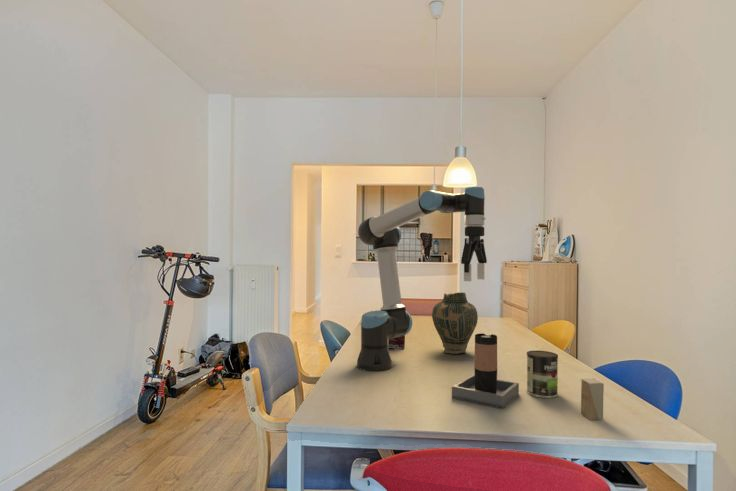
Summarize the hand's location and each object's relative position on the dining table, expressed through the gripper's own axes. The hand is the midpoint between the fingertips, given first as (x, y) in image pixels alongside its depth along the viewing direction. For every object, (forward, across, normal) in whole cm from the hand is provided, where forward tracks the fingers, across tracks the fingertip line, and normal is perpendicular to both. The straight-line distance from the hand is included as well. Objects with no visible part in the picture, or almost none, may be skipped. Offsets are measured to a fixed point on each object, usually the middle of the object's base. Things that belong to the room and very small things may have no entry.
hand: (474, 280), depth 172 cm
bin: (+39, -17, -11) cm, 44 cm away
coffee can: (+39, -2, -26) cm, 47 cm away
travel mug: (+38, -17, -11) cm, 43 cm away
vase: (+39, +37, +25) cm, 59 cm away
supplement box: (+39, +28, +53) cm, 71 cm away
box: (+39, -16, -44) cm, 61 cm away
